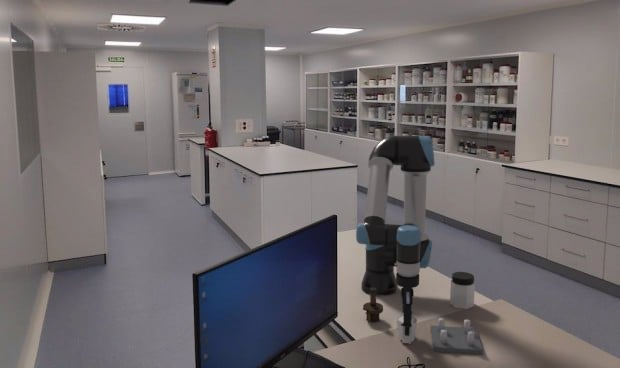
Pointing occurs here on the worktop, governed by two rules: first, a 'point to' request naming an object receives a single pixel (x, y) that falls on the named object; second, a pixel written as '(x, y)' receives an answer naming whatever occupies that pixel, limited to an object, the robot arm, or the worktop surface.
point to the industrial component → (373, 307)
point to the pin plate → (455, 338)
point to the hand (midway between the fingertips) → (406, 337)
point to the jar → (462, 290)
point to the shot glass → (400, 328)
